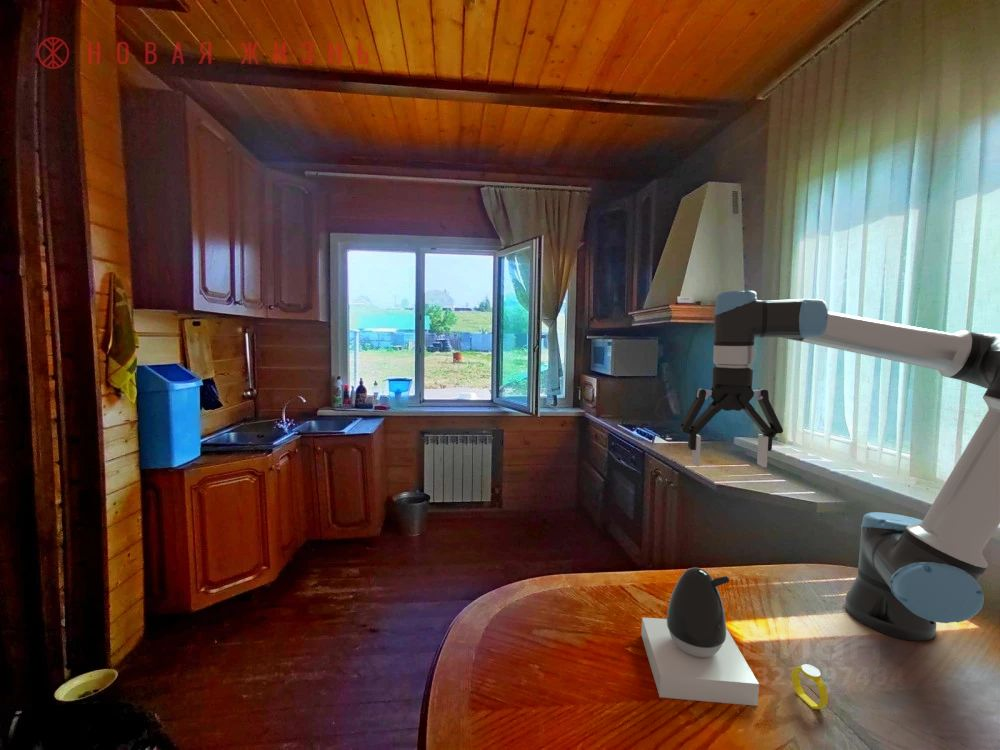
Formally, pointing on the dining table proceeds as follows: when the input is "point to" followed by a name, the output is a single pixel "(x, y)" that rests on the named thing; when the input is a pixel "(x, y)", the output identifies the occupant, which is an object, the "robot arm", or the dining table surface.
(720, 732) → the dining table surface
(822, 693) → the watch
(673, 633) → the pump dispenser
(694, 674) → the ceramic base
